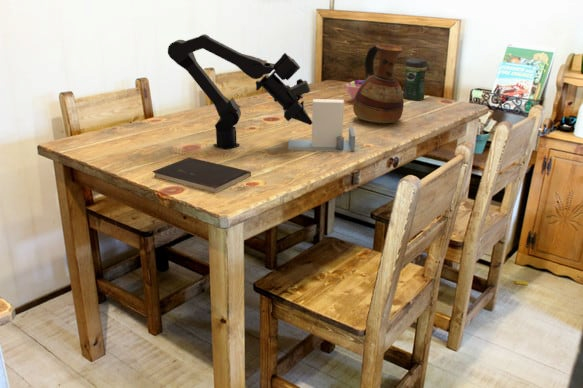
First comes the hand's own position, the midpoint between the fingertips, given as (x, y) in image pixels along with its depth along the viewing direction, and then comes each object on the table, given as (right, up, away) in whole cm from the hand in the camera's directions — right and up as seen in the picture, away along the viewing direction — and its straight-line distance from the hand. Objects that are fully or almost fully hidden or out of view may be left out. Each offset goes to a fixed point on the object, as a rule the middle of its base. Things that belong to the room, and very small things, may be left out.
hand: (311, 123), depth 182 cm
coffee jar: (+51, +22, +78) cm, 95 cm away
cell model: (+28, +19, +71) cm, 78 cm away
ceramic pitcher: (+28, +6, +38) cm, 47 cm away
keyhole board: (+3, -8, +3) cm, 9 cm away
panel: (+5, -7, +3) cm, 9 cm away
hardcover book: (-32, -19, -23) cm, 44 cm away
